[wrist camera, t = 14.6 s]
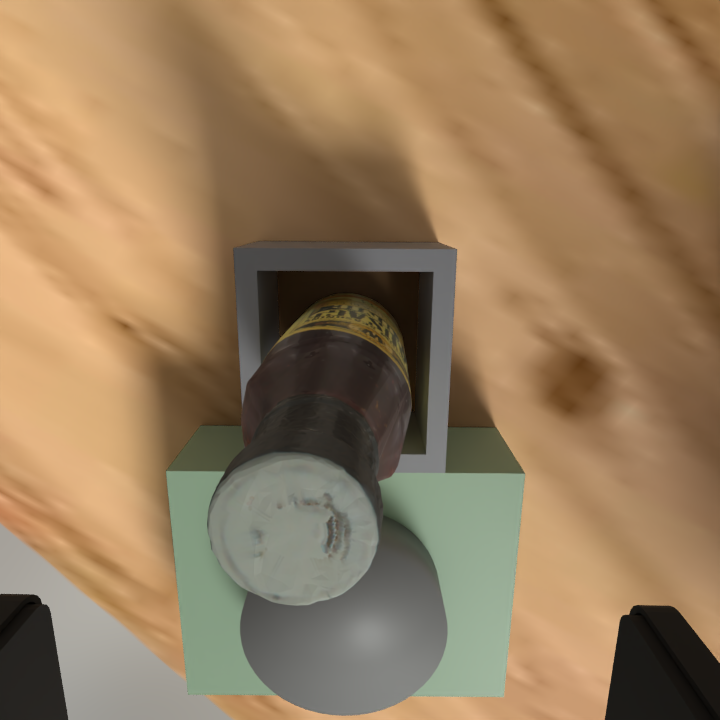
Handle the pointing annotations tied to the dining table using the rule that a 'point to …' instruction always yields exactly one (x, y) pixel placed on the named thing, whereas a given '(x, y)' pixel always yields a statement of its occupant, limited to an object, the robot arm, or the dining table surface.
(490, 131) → the dining table surface
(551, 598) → the dining table surface
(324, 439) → the sauce bottle
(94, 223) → the dining table surface
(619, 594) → the dining table surface
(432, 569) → the grey and green blocks
